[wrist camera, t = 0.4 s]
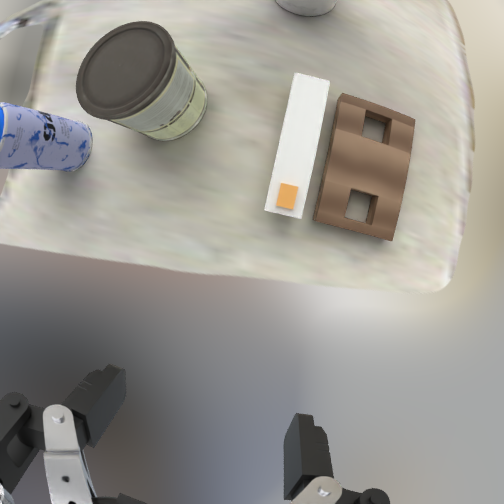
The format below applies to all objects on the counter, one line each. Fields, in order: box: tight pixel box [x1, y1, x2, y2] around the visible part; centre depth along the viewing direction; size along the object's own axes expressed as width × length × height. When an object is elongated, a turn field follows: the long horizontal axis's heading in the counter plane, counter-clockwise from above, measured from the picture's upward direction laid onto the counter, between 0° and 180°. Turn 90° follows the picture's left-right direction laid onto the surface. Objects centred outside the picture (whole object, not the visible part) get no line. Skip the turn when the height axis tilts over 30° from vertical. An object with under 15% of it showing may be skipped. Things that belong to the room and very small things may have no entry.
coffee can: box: [76, 21, 207, 141], centre depth 26 cm, size 10×10×14 cm
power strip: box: [264, 73, 330, 219], centre depth 31 cm, size 16×4×6 cm, turn 168°
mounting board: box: [313, 93, 415, 241], centre depth 32 cm, size 16×10×2 cm, turn 168°
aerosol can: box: [0, 102, 92, 172], centre depth 25 cm, size 8×8×20 cm
